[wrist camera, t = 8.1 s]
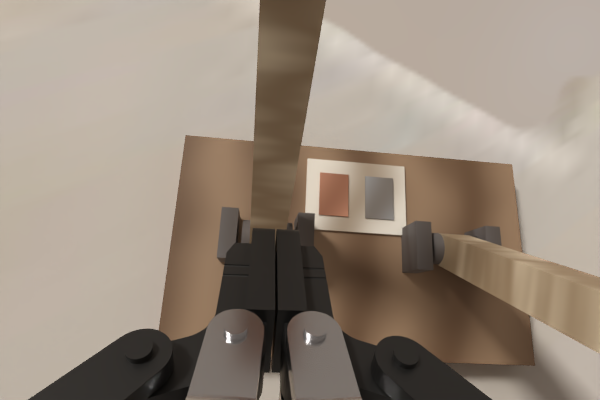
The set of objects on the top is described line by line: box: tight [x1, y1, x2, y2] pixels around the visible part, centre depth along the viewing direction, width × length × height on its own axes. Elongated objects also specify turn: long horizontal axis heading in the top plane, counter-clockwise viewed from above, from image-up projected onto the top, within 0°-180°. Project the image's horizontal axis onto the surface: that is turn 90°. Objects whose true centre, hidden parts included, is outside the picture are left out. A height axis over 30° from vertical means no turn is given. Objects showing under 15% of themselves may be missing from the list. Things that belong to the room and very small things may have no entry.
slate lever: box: [432, 233, 600, 353], centre depth 16 cm, size 3×3×19 cm
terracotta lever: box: [241, 0, 326, 243], centre depth 17 cm, size 3×3×19 cm
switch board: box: [159, 135, 535, 366], centre depth 25 cm, size 24×14×4 cm, turn 87°
